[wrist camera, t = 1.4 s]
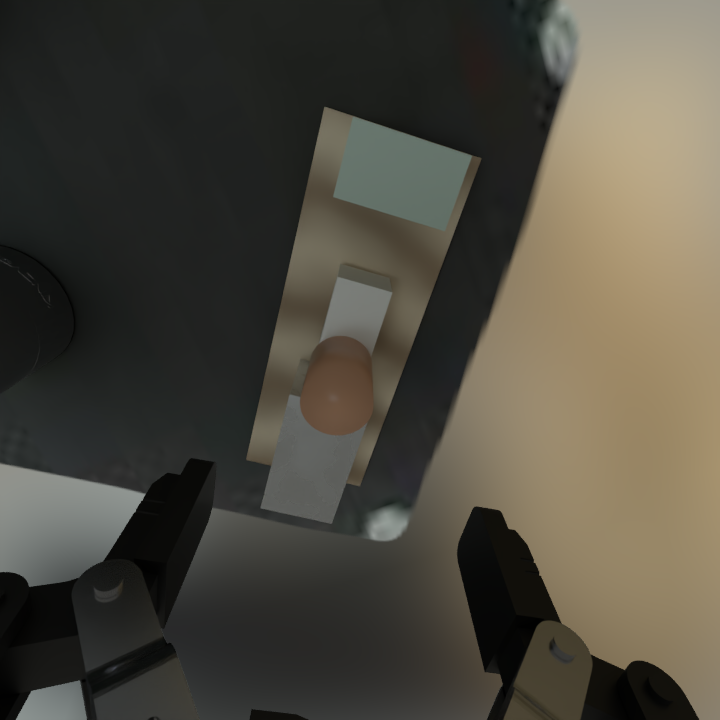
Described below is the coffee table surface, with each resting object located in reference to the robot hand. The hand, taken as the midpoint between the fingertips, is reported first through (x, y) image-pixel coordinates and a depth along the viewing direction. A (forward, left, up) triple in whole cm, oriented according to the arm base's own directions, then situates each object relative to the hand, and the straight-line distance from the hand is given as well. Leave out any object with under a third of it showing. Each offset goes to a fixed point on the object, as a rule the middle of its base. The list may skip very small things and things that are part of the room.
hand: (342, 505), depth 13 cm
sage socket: (+7, +6, -20) cm, 22 cm away
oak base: (-2, -1, -21) cm, 21 cm away
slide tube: (-4, -3, -19) cm, 19 cm away
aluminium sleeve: (-8, -6, -20) cm, 22 cm away
